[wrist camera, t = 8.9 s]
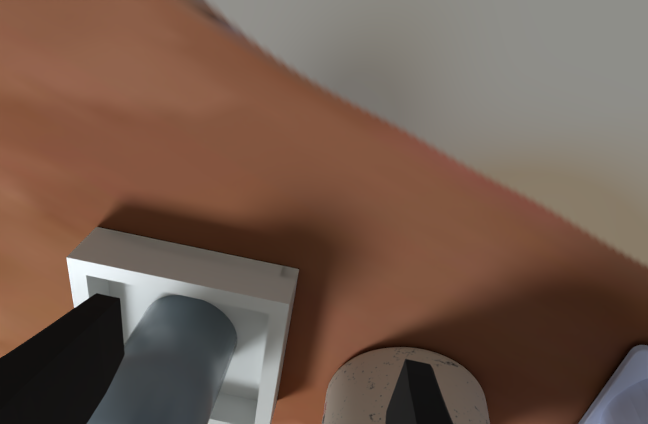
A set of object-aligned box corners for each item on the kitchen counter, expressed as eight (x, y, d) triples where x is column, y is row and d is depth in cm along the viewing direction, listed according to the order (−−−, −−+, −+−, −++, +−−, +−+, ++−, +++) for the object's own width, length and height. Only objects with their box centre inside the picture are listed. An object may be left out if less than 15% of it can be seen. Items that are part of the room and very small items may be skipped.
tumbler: (240, 306, 24) (188, 436, 18) (234, 374, 27) (187, 506, 21) (141, 285, 24) (56, 407, 18) (145, 355, 27) (72, 481, 21)
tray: (299, 269, 23) (289, 304, 21) (276, 401, 29) (267, 440, 26) (96, 226, 24) (66, 257, 21) (111, 365, 29) (88, 401, 27)
